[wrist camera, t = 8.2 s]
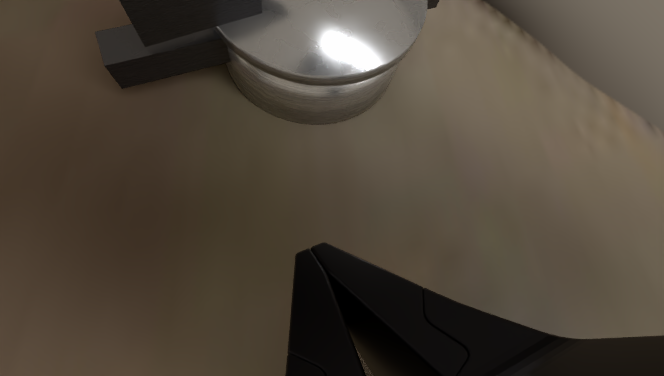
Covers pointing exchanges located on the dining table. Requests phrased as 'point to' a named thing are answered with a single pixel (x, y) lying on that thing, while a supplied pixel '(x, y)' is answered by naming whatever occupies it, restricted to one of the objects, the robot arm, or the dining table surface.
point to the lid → (293, 33)
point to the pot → (237, 75)
